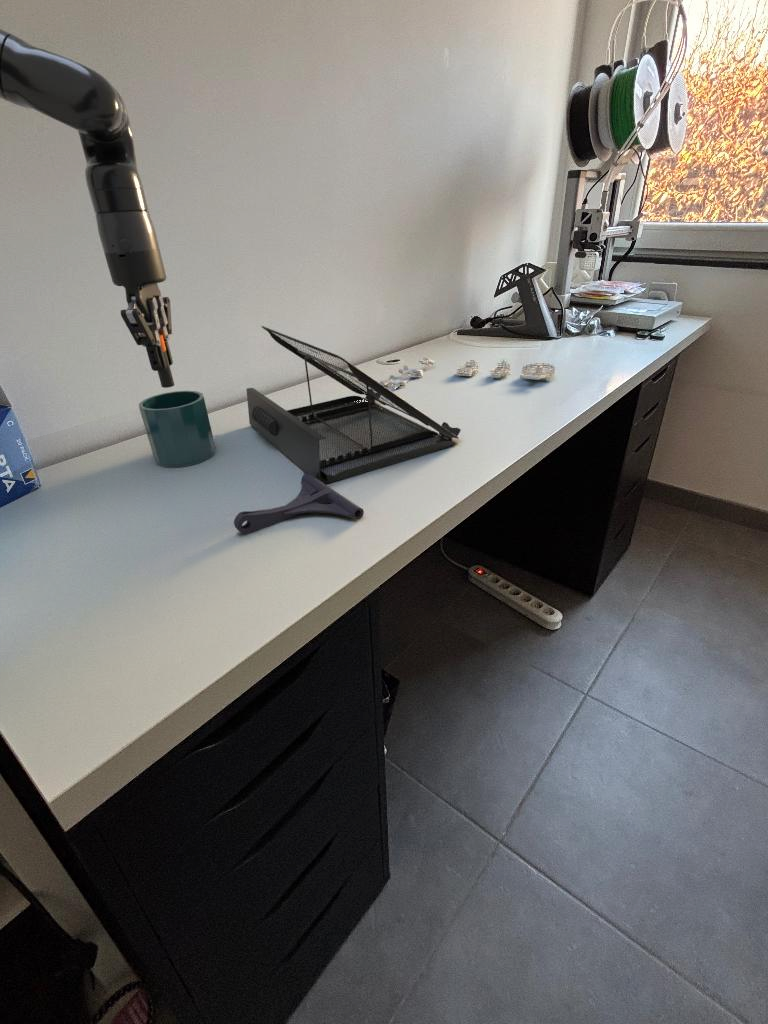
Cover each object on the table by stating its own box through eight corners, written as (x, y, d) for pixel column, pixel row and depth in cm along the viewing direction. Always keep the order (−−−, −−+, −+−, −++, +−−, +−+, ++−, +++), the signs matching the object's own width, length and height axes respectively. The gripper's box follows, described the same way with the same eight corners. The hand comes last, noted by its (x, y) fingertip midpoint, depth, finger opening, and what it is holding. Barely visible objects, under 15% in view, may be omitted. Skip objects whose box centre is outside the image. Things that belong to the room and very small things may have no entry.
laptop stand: (463, 442, 90) (465, 332, 81) (315, 487, 79) (298, 364, 70) (369, 397, 116) (362, 309, 107) (246, 426, 104) (227, 330, 95)
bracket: (218, 514, 74) (213, 496, 72) (311, 481, 81) (309, 465, 79) (261, 560, 63) (257, 540, 62) (364, 518, 70) (362, 499, 69)
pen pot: (146, 469, 88) (128, 411, 84) (167, 445, 97) (153, 392, 92) (206, 466, 88) (192, 408, 83) (222, 442, 97) (210, 389, 92)
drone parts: (528, 408, 105) (529, 393, 104) (377, 393, 121) (375, 379, 120) (558, 373, 122) (559, 359, 120) (421, 364, 138) (421, 351, 136)
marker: (159, 388, 86) (145, 337, 82) (164, 384, 88) (150, 334, 84) (172, 387, 86) (159, 336, 82) (177, 383, 88) (164, 333, 84)
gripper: (126, 246, 83) (156, 358, 91) (82, 253, 71) (121, 381, 79) (173, 243, 83) (199, 356, 91) (137, 249, 71) (170, 378, 79)
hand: (162, 367), depth 85 cm, fingers closed on marker, 2 cm apart
